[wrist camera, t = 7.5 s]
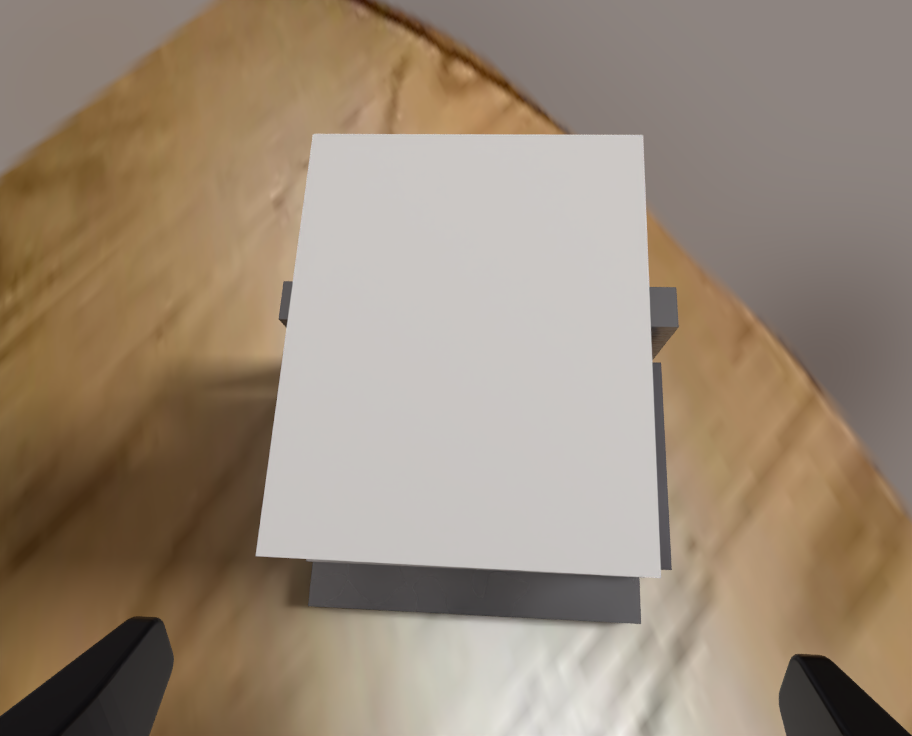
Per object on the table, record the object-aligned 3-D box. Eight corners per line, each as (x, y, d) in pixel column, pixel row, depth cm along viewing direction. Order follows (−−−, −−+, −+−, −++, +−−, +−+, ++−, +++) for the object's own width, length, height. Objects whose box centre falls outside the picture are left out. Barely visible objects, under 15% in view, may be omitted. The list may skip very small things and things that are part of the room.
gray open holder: (635, 621, 18) (697, 649, 13) (315, 604, 19) (237, 623, 13) (625, 360, 21) (675, 283, 15) (341, 353, 21) (284, 277, 16)
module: (552, 566, 17) (661, 583, 6) (410, 559, 18) (254, 561, 6) (554, 389, 19) (642, 131, 7) (422, 385, 19) (313, 130, 8)
